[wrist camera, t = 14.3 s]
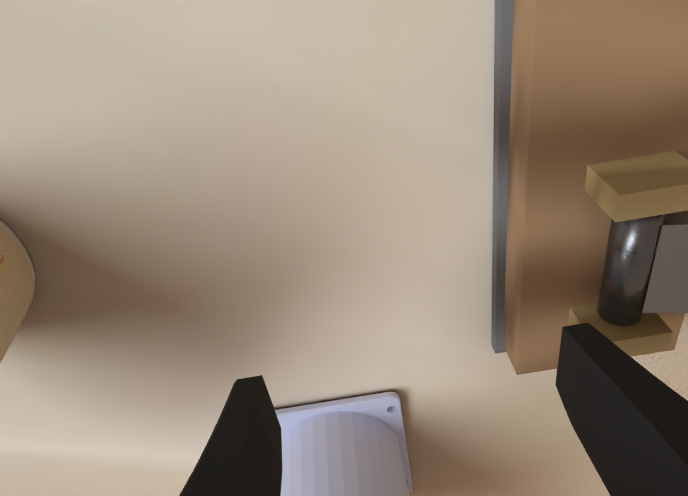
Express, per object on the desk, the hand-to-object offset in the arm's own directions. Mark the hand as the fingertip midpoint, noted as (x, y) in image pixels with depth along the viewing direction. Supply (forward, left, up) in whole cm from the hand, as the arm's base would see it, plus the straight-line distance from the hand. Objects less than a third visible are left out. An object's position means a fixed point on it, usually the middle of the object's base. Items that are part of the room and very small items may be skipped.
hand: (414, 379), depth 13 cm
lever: (-3, -9, -6) cm, 11 cm away
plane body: (+1, -9, -10) cm, 13 cm away
